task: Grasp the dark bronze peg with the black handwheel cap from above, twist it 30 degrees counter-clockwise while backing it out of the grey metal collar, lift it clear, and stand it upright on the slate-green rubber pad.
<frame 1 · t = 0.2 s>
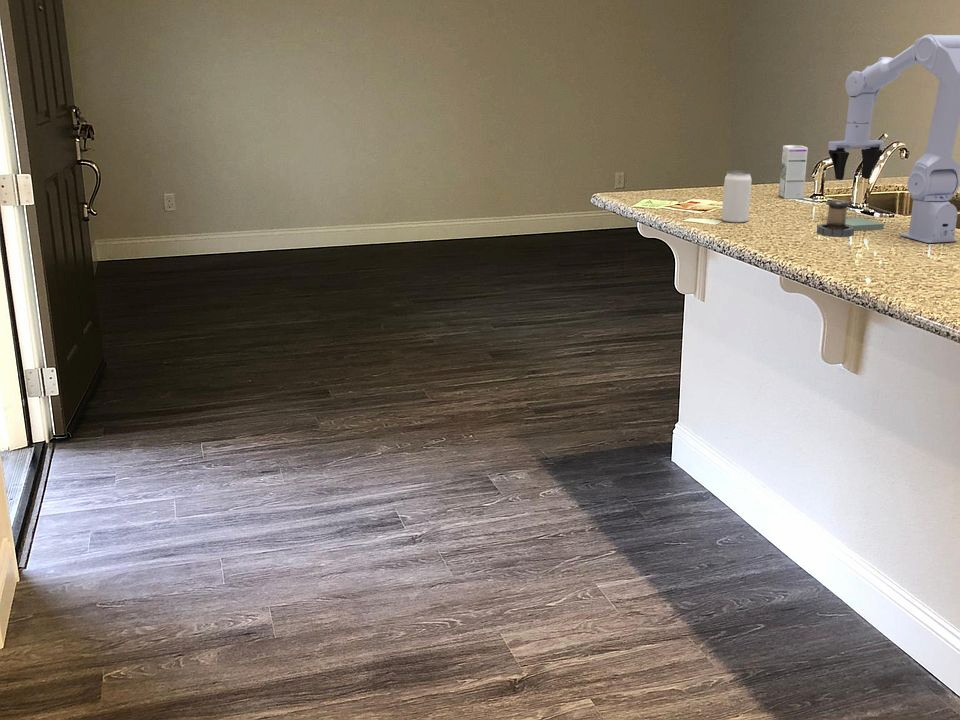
hand: (852, 178, 242), 10 cm above the worktop, tool pointing down, fingers open, 7 cm apart
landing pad: (855, 226, 235), on the worktop
syrup box: (790, 198, 278), on the worktop
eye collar: (834, 233, 227), on the worktop
can: (734, 221, 243), on the worktop
hook peg: (836, 217, 226), in the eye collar
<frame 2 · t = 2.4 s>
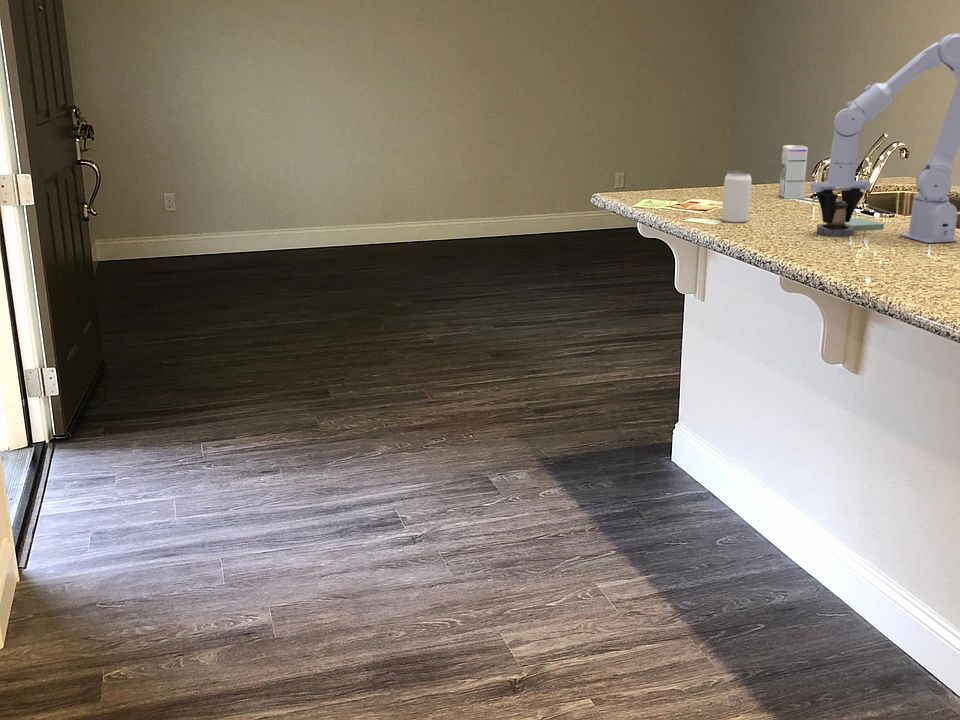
hand: (836, 222, 226), 3 cm above the worktop, tool pointing down, fingers closed on hook peg, 4 cm apart
hook peg: (836, 217, 226), in the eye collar, touching gripper
everything else where it was.
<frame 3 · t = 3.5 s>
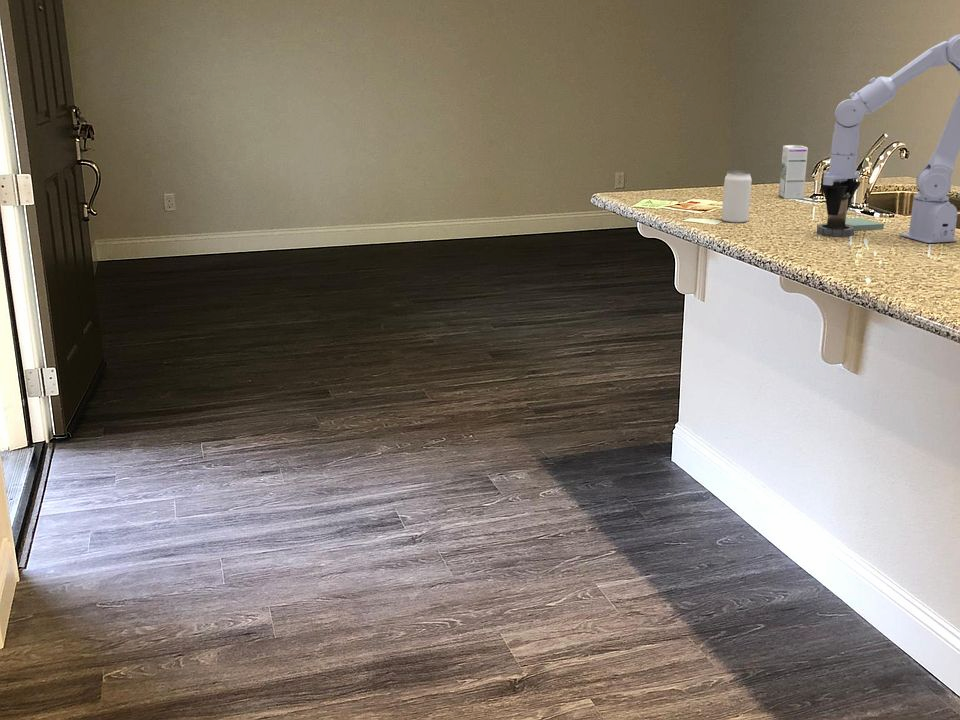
hand: (837, 213, 226), 5 cm above the worktop, tool pointing down, fingers closed on hook peg, 4 cm apart
hook peg: (837, 208, 225), point 6 cm above the worktop, touching gripper
everything else where it was.
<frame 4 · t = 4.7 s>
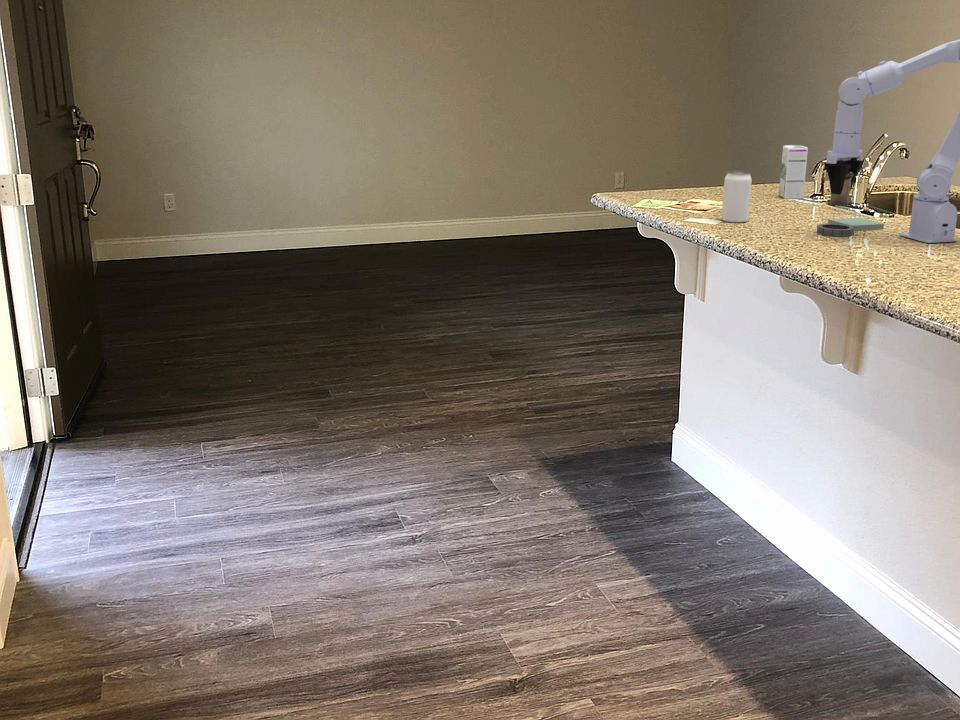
hand: (840, 192, 224), 9 cm above the worktop, tool pointing down, fingers closed on hook peg, 4 cm apart
hook peg: (841, 187, 224), point 10 cm above the worktop, touching gripper
everything else where it was.
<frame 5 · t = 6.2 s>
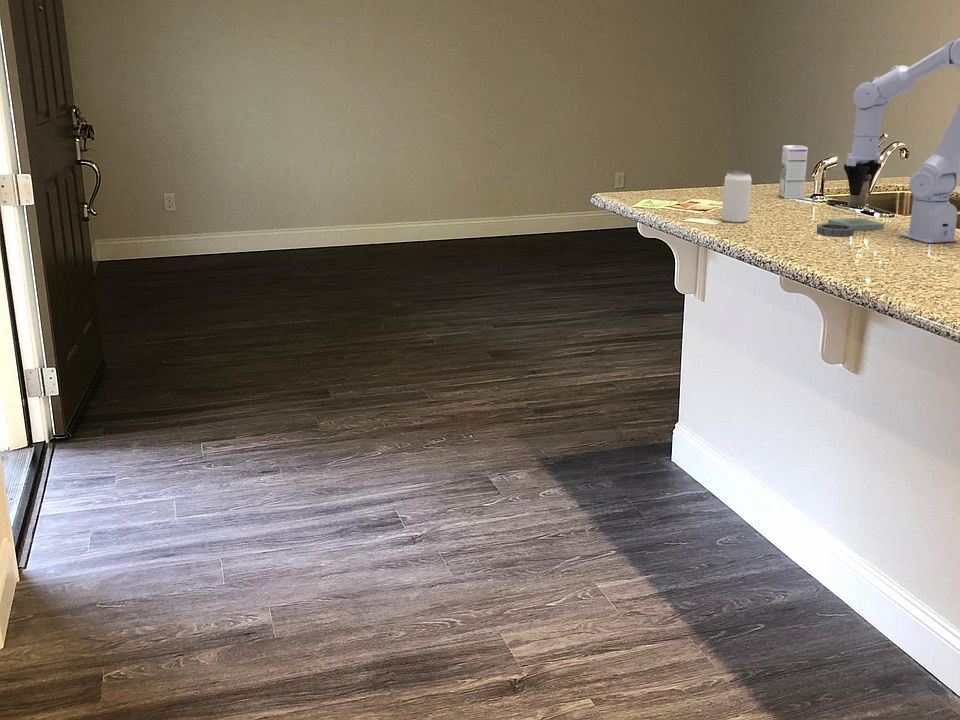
hand: (859, 194, 233), 8 cm above the worktop, tool pointing down, fingers closed on hook peg, 4 cm apart
hook peg: (859, 189, 232), point 9 cm above the worktop, touching gripper
everything else where it was.
when the fingers open (5 cm above the worktop, at t = 7.3 s): hook peg stays where it is, resting on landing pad.
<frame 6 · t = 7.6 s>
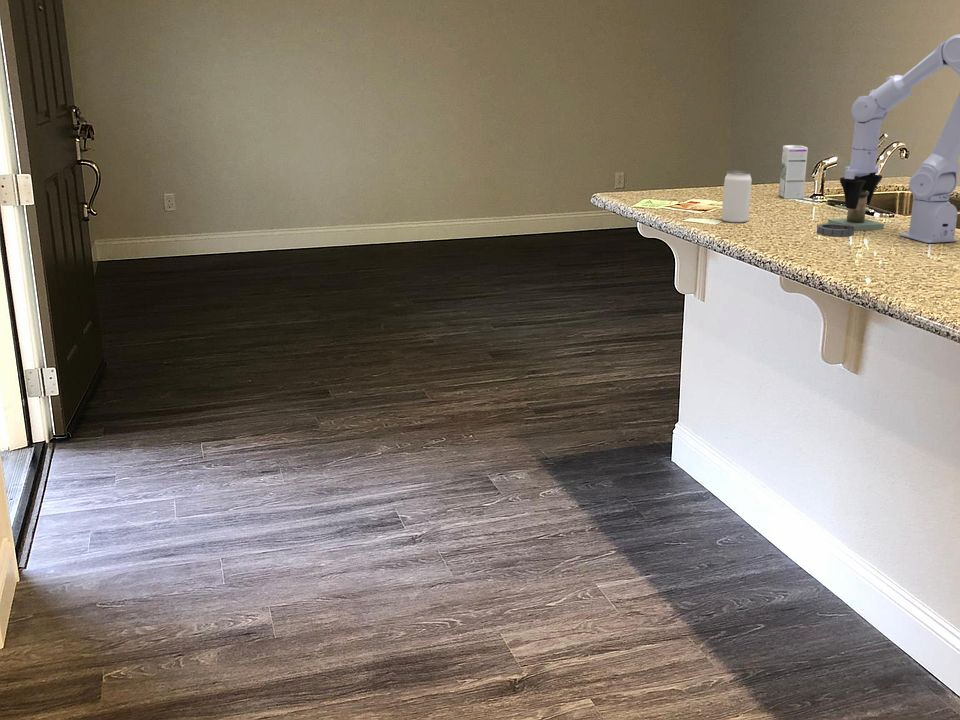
hand: (857, 206, 234), 5 cm above the worktop, tool pointing down, fingers open, 7 cm apart
hook peg: (857, 205, 234), on the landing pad, point 5 cm above the worktop
everything else where it was.
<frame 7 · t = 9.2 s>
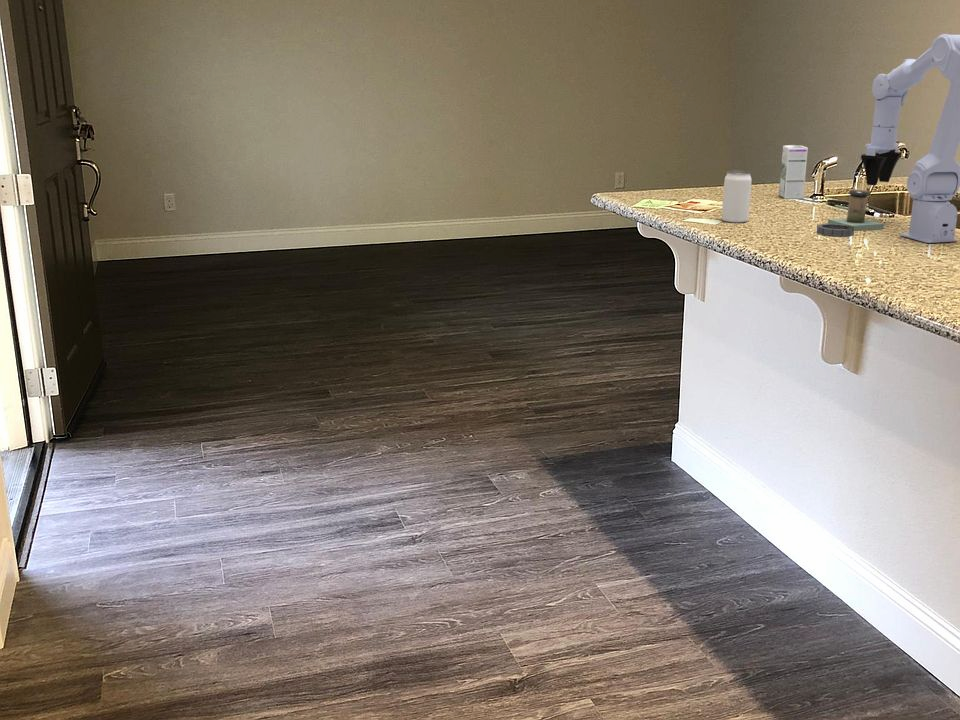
hand: (877, 183, 238), 9 cm above the worktop, tool pointing down, fingers open, 7 cm apart
nothing on the worktop moved.
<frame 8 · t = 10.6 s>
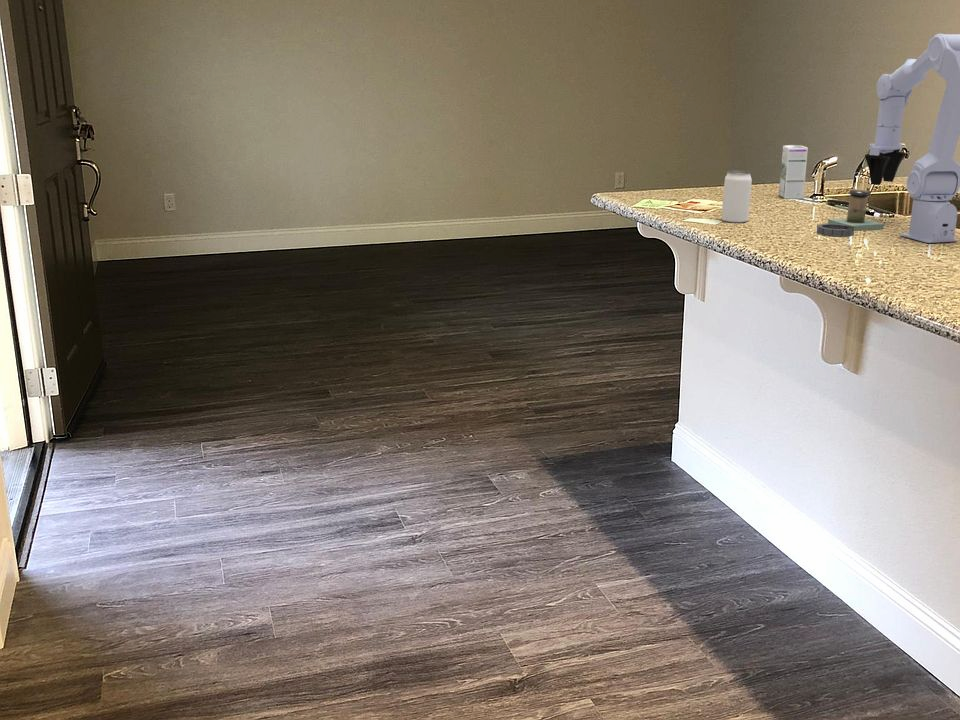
hand: (881, 183, 240), 9 cm above the worktop, tool pointing down, fingers open, 7 cm apart
nothing on the worktop moved.
at the end: hook peg 0.2 cm off-centre on the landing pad, point 5.1 cm above the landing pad's base; hook peg tilted 2°; the gripper is holding nothing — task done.
